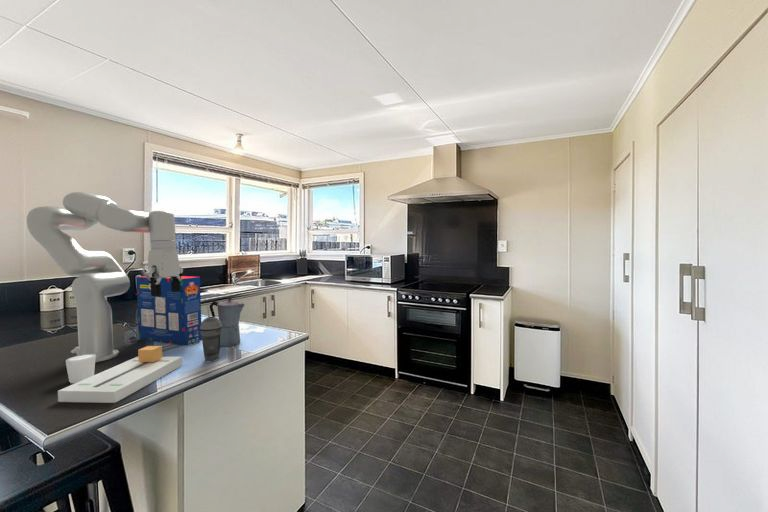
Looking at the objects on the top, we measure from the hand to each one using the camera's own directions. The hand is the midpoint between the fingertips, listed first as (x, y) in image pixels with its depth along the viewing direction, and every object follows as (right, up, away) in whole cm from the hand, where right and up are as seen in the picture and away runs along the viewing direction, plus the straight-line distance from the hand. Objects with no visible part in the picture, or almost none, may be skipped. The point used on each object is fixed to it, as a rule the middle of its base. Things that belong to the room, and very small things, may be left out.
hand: (166, 293), depth 114 cm
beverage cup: (+15, -24, +2) cm, 29 cm away
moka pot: (+12, -24, +20) cm, 33 cm away
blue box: (-17, -24, +27) cm, 39 cm away
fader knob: (0, -21, -7) cm, 23 cm away
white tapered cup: (-17, -25, -14) cm, 34 cm away
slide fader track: (-1, -25, -16) cm, 30 cm away
